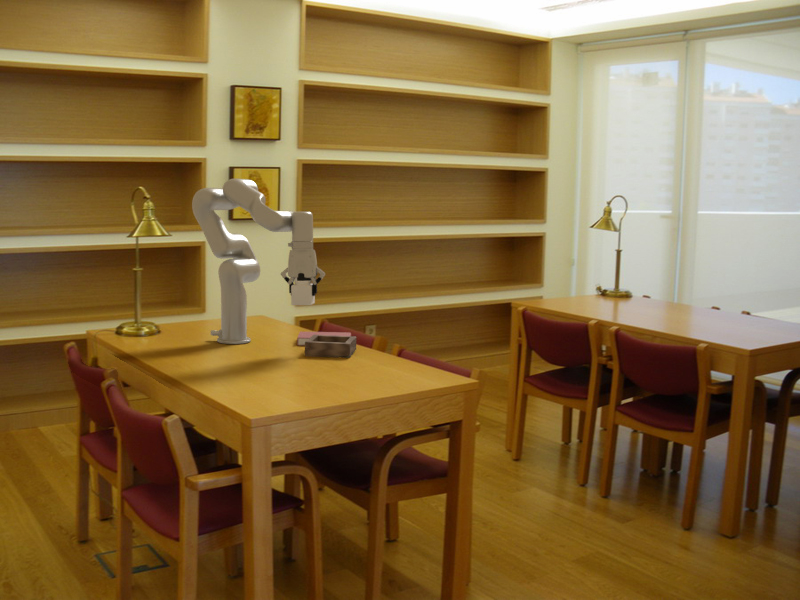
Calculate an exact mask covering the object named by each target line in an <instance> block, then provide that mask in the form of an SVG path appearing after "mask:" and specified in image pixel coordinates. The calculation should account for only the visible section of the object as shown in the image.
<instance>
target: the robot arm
mask: <svg viewBox="0 0 800 600" xmlns="http://www.w3.org/2000/svg"><path fill="white" fill-rule="evenodd" d="M191 202H192V203H191V204H192V205H191V207H192V213H193V216H194V217H195V220H196V221H197V223H198V225H199V227H200V229H201V231H202V232H203V235H204V237H205V240H206V241H207V244H208V246H209V248H210V250H211V252H212V254H213V255H214V256H215V258H217V259H223V260H224V259H226V260H224V261H222V263H221V264H220V265H219V267H218V279H219V284H220V295H221V296H220V303H221V304H220V309H221V310H220V311H221V312H220V322H221V323H220V325H221V326H220V328H221V329H218V330H216V329H215V330H213V329H212V330H210V335H211V336H212V337H213V336H217V338H216V342H217V343H220V344H225V345H226V344H227V345H243V344H247V343H250V342H251V338H250V337H249V336H248V335H247V331H248V329H247V325H248V323H247V322H248V321H247V318H248V317H247V312H248V311H247V309H248V307H247V305H248V303H247V302H248V301H247V297H248V296H247V291H246V288H245V286H244V284H245V283H246V284H247V283H252V282H255V281H256V280H258V279H259V277H260V275H261V266H260V263H259V260H258V259H257V256H256V255H255V252H254V251H253V250H254V249H253V247H252V246H251V243H250V242H249V240H248V238H246V236H245V235H243V234H240V233H237V232H235V233H234V232H232V233H231V232H229V230H228V229H227V227H226V225H225V223H224V221H223V219H222V218H221V217H220V216H219V215H218V214H217V213H216V211H229V210H233V209H236V208H239V207H240V208H241V209H243V210H244V211H246V212H248V213H249V214H250V217H251V219H252V220H253V221H254V222H255V223H256V224H257V225H259V226H260V227H261V228H264V229H265V230H267V231H269V232H272V233H283V232H284V233H286V232H287V233H290V232H291V242H288V243H287V247H289V248H291V249H290V250H289V253H288V261H287V262H288V263H287V267H286V268H285V269H284V270H283V271H282V272H281V273H280V276H281V277H282V278H283V280H284V281H285V282H286V283H287V284H288V285H289V286H288V287H289V288H288V290H289V294H291V286H292V285H294V284H295V278H297V277H298V274H299V273H304V277H305V278H311V283H312V284H313V285H312V296H315V297H316V295H317V293H318V284H319V283H320V282H321V281H322V280H323V278H325V276H326V272H324V270H322V269H321V268H320V267H318V261H317V253H316V250H315V249H314V216H313V212H311V211H293V210H292V211H291V210H275V209H272V208H270V207H269V206H268V205H266V196H265V195H264V193H262V192H260V191H259V188H258V185H257V184H256V182H255V181H253V180H252V179H247V178H230V179H227V180H226V181H225V182H224V184H223V185H222V187H204V188H201V189H198V190H197V191H196V192H195V193H194V195H193V197H192V201H191ZM318 274H319V276H318ZM317 276H318V277H317Z"/></svg>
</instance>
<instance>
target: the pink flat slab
mask: <svg viewBox="0 0 800 600" xmlns="http://www.w3.org/2000/svg"><path fill="white" fill-rule="evenodd" d="M313 335H333V336H352V333H351V332H345V331H344V332H342V331H341V332H340V331H339V332H338V331H299V332H298V335H297V338H296V340H297V341H296V344H297V345H296V346H301V347H302V346H304V347H305V342H306V341H307V340H308V339H309V338H310V337H312V336H313Z"/></svg>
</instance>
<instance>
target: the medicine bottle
mask: <svg viewBox="0 0 800 600" xmlns="http://www.w3.org/2000/svg"><path fill="white" fill-rule="evenodd" d="M293 284H294V285H292V286H291V293H290V296H291V297H290V298H291V299H290V300H291V301H290V302H291V304H290V305H291V306H312V305H314V304H315V303H316V299H315V298H316V295H315V296H312V285H313V283H312V280H311V278H305V277H304V273H299V274H298V277H297V278H295V280H294V283H293Z"/></svg>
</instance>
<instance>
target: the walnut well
mask: <svg viewBox="0 0 800 600" xmlns="http://www.w3.org/2000/svg"><path fill="white" fill-rule="evenodd" d="M355 350H356V351H357V336H352V335H351V336H333V335H313V336H312V337H310V338H309V339H308V340H307V341H306V342H305V346H304V357H319V358H322V357H323V358H339V357H341V358H342V359H344V358H346V359H350V358H351V357H352V356H353V355H354V353H355V352H356V351H355ZM351 355H352V356H351Z"/></svg>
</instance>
